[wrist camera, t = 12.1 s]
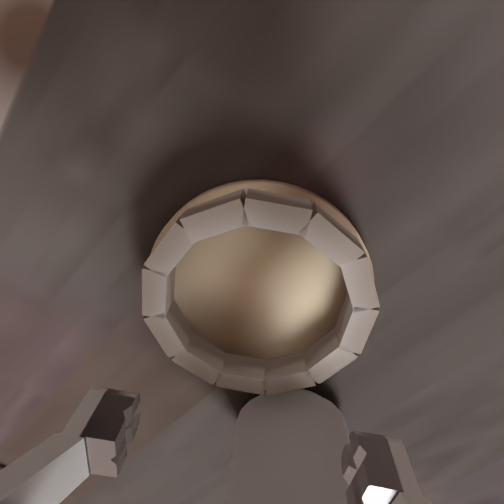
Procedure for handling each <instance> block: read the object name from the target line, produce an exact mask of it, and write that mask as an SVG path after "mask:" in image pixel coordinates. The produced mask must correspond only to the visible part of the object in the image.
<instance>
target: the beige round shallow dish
mask: <svg viewBox="0 0 504 504" xmlns="http://www.w3.org/2000/svg"><path fill="white" fill-rule="evenodd" d="M143 265H144V267H143V268H142V315H144V316H145V317H144V318H143V319H144V321H145V323H146V324H147V326H148V327H149V329H150V330H151V332H152V333H153V335H154V336H155V338H156V339H157V341H158V343H159V344H160V346H161V347H162V349H163V350H164V352H165V353H166V355H167V356H168V357H172V360H171V361H173V362H175V363H176V364H178V365H180V366H181V367H183V368H185V369H186V370H188V371H189V372H191V373H193V374H194V375H196V376H198V377H199V378H201V379H203V380H204V381H206V382H207V383H209V384H211V385H213V384H214V383H215V382H216V381H217V382H216V387H221V388H226V389H232V390H238V391H243V392H249V393H255V394H260V395H264V392H265V390H266V392H267V394H268V395H271V394H276V393H281V392H286V391H291V390H297V389H302V388H307V387H312V386H316V385H315V382H317V383H318V384H320V383H322V382H323V381H325V380H326V379H328V378H329V377H330V376H332V375H333V374H335V373H336V372H337V371H339V370H340V369H342V368H343V367H345V366H346V365H347V364H349V363H350V362H352V361H353V360H355V359H356V358H357V357H358V355H357V353H359V354H361V352H362V350H363V348H364V345H365V343H366V341H367V338H368V336H369V334H370V332H371V329H372V327H373V325H374V322H375V320H376V318H377V316H378V313H379V309H378V307H380V305H379V301H378V297H377V293H376V289H375V285H374V274H373V267H372V263H371V260H370V257H369V254H368V251H367V249H366V247H365V245H364V243H363V241H362V240H361V238H360V236H359V234H358V232H357V230H356V229H355V228H354V226H353V225H352V224H351V222H350V221H349V220H348V218H347V217H346V216H345V215H344V214H343V213H342V212H341V211H340V210H339V209H338V208H337V207H335V206H334V205H333V204H331V203H330V202H329V201H327V200H326V199H324V198H323V197H321V196H319V195H317V194H316V193H314V192H312V191H310V190H307V189H305V188H302V187H300V186H297V185H293V184H289V183H285V182H281V181H274V180H265V179H257V180H242V181H235V182H230V183H227V184H223V185H220V186H216V187H214V188H212V189H209V190H207V191H205V192H203V193H201V194H199V195H198V196H196V197H195V198H193V199H191V200H190V201H189V202H187V203H186V204H185V205H184V206H183V207H182V208H180V209H179V210H178V211H177V213H176V214H175V215H174V216H173V217H172V218H171V219H170V221H169V222H168V223H167V224H166V225H165V227H164V228H163V230H162V231H161V233H160V234H159V236H158V237H157V239H156V241H155V244H154V246H153V248H152V251H151V255H150V256H149V258H148V259H147V260H146V262H145V263H144V264H143Z"/></svg>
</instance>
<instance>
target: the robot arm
mask: <svg viewBox="0 0 504 504" xmlns="http://www.w3.org/2000/svg"><path fill="white" fill-rule="evenodd" d="M139 402H140V394H136V393H131V392H125V391H120V390H115V389H110V388H105V387H99V386H93V387H91V388H90V389H89V390H88V392H87V394H86V395H85V397H84V398H83V400H82V401H81V403H80V405H79V406H78V408H77V409H76V411H75V412H74V414H73V416H72V417H71V419H70V420H69V422H68V423H67V425H66V427H65V428H64V430H63V431H62V433H55V434H54V435H52V436H51V437H49V438H48V439H46V440H45V441H43V442H42V443H40V444H39V445H37V446H36V447H35V448H33V449H32V450H30V451H29V452H27V453H26V454H24V455H23V456H21V457H20V458H18V459H17V460H15V461H14V462H12V463H11V464H9V465H8V466H6V467H5V468H3V469H2V470H0V504H59V503H60V502H61V501H63V500H64V499H65V498H66V497H67V496H68V495H69V494H70V493H71V492H72V491H73V490H74V489H75V488H76V487H77V486H79V485H80V484H81V483H82V482H83V481H84V480H85V479H86V478H87V477H88V476H89V474H97V475H104V476H111V477H118V474H119V472H120V469H121V467H122V465H123V462H124V460H125V458H126V455H127V450H126V445H128V444H129V443H130V442H131V441H133V438H134V436H135V433H136V431H137V427H138V424H139V419H140V409H139V408H138V405H139ZM349 439H350V443H348V444H347V445H345V446H344V449H343V451H342V458H341V467H342V474H343V478H344V479H345V480H346V482H347V483H348V485H349V486H348V488H347V491H346V498H347V504H433V503H432V502H431V501H430V500H429V499H428V498H427V497H426V496H422V495H421V492H420V489H419V486H418V484H417V481H416V478H415V475H414V472H413V470H412V467H411V464H410V461H409V459H408V456H407V453H406V450H405V448H404V445H403V442H402V441H401V440H400V439H398V438H393V437H386V436H383V435H377V434H371V433H364V432H358V431H353V432H351V434H350V436H349Z"/></svg>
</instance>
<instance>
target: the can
mask: <svg viewBox="0 0 504 504" xmlns="http://www.w3.org/2000/svg"><path fill="white" fill-rule="evenodd" d="M348 443H350V440H349V435H348V430H347V425H346V422H345V419H344V417H343V415H342V412H341V411H340V410H339V409H338V408H337V407H336V406H335V405H334V404H333V403H332V402H331V401H329V400H327V399H325V398H323V397H321V396H319V395H317V394H315V393H314V392H312V391H310V390H305V389H297V390H291V391H286V392H281V393H276V394H271V395H268V394H267V392H265V393H264V395H259V396H257V397H255V398H253V399H251V400H250V401H249V402H248V403H247V404H246V405H245V406H244V407H243V408H242V409H241V410H240V413H239V416H238V419H237V423H236V431H235V438H234V446H233V453H232V461H231V468H230V476H229V483H228V491H227V498H226V504H347V498H346V491H347V488H348V486H349V485H348V483H347V482H346V480H345V479H344V478H343V474H342V467H341V458H342V451H343V449H344V446H345V445H347V444H348Z"/></svg>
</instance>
